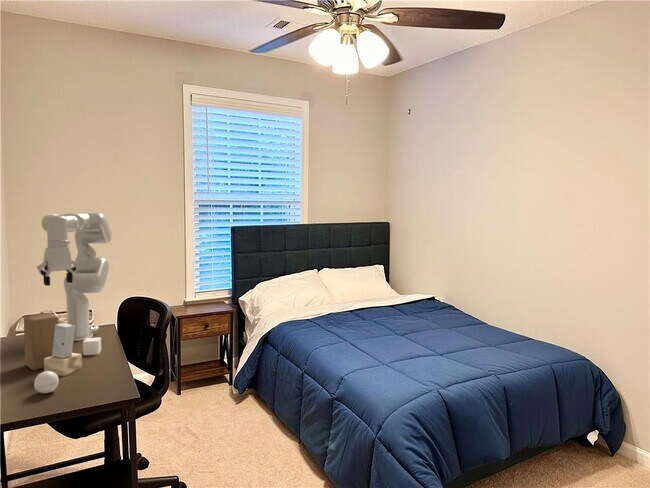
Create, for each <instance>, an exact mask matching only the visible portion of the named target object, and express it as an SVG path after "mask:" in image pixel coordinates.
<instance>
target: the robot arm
mask: <svg viewBox="0 0 650 488" xmlns="http://www.w3.org/2000/svg"><path fill="white" fill-rule="evenodd" d="M41 228H42V229H43V230H44V231H45V232H46V236H47V239H46V240H47V241H46V242H47V247H45V249H44V254H43V262H42V263H40V264H38V265H37V266H36V270H37V271H38V272H39V274H40V275H41V276H42V277H43V285H44V286H46V287H49V286H51V277H50V274H51V273H52V272H59V271H60V272H62V271H66V274H65V275H66V276H65V277H64V278H63V287H64V291H65V298H66V324H71V325H74V326H75V331H74V340H73V342H79V341H84V340H85V339H86V338H94V332H95V331H99V326H90V302H89V300H88V297H87V296H86V295H85V294H97V293H101V292H102V291H103V290H104V288H105V284H106V280H107V277H108V273H109V261H108V260H107V258H104V257H101V256H100V257H99V256H98V257H97V252H96V250H95V249H94V248H93V247H92V246H91V245H90V244H93V245H94V244H96V245H97V244H98V245H99V244H102V245H103V244H108V243H110V242H111V240H112V231H111V229H110V226H109V223H108V221H107V218H106V216H105V215H104V214H103V213H100V212H73V213H59V214H58V213H57V214H46V215H44V216H43V217H42V219H41ZM73 232H74V242H75V245H76V249H77V253H76V258H75V259H74V260H72V254H71V249H70V247H69V245H70V244H71V241H69V240H68V233H73Z"/></svg>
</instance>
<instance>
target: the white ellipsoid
mask: <svg viewBox="0 0 650 488" xmlns="http://www.w3.org/2000/svg"><path fill="white" fill-rule="evenodd" d="M65 379H67V377H65V378H64V380H65ZM60 380H63V378H60V379H59V375H57V374H56V373H54V372H51V371H45V372H44V371H42V372H41V373H39V374H37V376H36V378H35V379H34V382H33V386H34V389H35V390H36V391H37V393H40V394H49V393H51V392H52V393H53V391H54V390H56V389H57V387H58V386H59V383H60Z"/></svg>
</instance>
